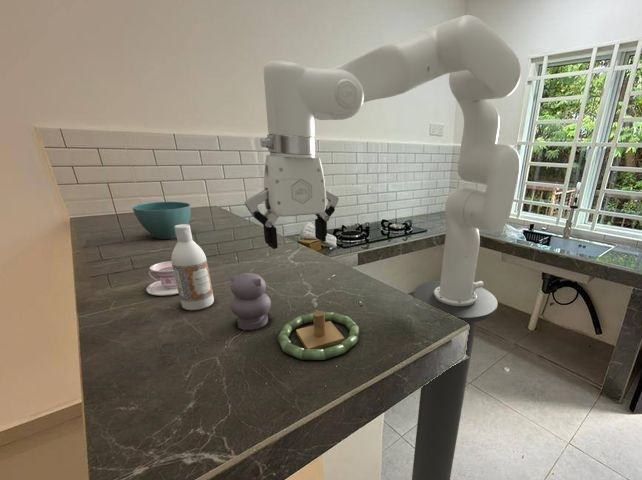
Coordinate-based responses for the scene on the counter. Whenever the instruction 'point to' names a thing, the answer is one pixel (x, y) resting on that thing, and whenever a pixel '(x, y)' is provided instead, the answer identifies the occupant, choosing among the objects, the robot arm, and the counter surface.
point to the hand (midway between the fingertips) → (297, 243)
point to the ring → (318, 353)
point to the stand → (319, 333)
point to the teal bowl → (162, 217)
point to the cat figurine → (249, 300)
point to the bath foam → (191, 271)
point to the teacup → (163, 280)
